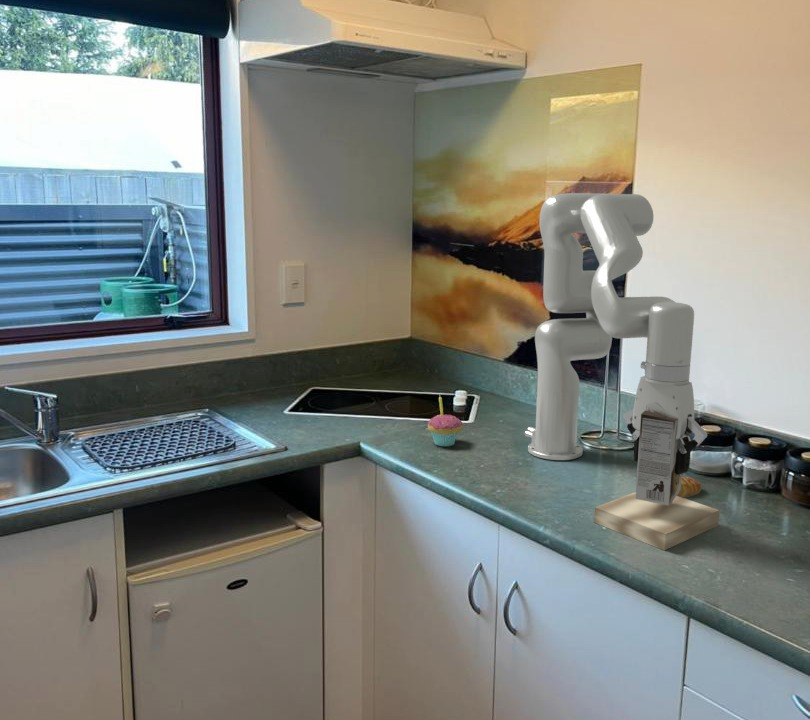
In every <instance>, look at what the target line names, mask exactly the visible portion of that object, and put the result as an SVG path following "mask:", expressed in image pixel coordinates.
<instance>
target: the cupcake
mask: <svg viewBox="0 0 810 720" xmlns="http://www.w3.org/2000/svg"><path fill="white" fill-rule="evenodd" d="M438 395H439V397H438V403H439V411H440V414H437V415H434V416H433V417H431V418H430V419H429V420H428V421H427V430H428V431H429V432H430V434H431V436H432V439H433V442H434V444H435V445H436V446H439V447H451V446H454V445H455V442H456V439H457V436H458V434H459V433H460V432H461V431H463V429H464V423H463V421H462V420H460V419H459V417H456V416H455V415H452V414H444V406H443V398H442V397H441V394H440V393H439V394H438Z"/></svg>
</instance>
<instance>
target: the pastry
mask: <svg viewBox="0 0 810 720" xmlns="http://www.w3.org/2000/svg"><path fill="white" fill-rule="evenodd" d="M701 491H702V486H701V483H700V482H699V481H697V480H696V479H695V478H693V477H687V476H685V475H682V479H681V490H680V491H679V493H678V494H677V496H679V497H682V498H685V499H686V498H688V497H692V496H696V495H698V494H699V493H701Z"/></svg>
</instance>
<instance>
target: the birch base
mask: <svg viewBox="0 0 810 720" xmlns="http://www.w3.org/2000/svg"><path fill="white" fill-rule="evenodd" d="M635 496H636V491H635V492H631V493H630V494H626V495H623V496H621V497H618V498H616V499H613V500H610V501H607V502H605V503H602V504H599V505H597V506H594V516H593V523H594V522H595V524H597V525H600V526H602V527H604V528H608V529H610V530H613V532H617V533H620V534H622V535H624V536H627V537H630V538H632V539H635V540H637V541H640V542H642V543H645V544H647V545H651V546H653V547H655V548H657V549H659V550H662V551H666V550H669V549H670V548H673V547H675V546H677V545H679V544H682V543H683V542H686V541H688V540H690V539H692V538H695V537H696V536H699V535H701V534H703V533H705V532H707V531H709V530H711V529H714V528H716V527H718V526H719V520H720V511H721V510H720V509H718V508H714V507H711V506H709V505H704V504H702V503H699V502H696V501H693V500H690V499H687V498H686V497H685V498H683V497H679V496H676V497H675V499H674V500H673V501H672V503H671V504H670V505H663V504H658V503H653V502H648V501H643V500H638V499H636V498H635Z"/></svg>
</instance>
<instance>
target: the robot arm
mask: <svg viewBox="0 0 810 720" xmlns="http://www.w3.org/2000/svg"><path fill="white" fill-rule="evenodd" d="M653 224H654V211H653V208H652V205H651V203H650V202H649V200H648V199H647V198H646V197H645V196H643V195H641V194H636V193H635V194H634V193H633V194H631V193H630V194H629V193H627V194H626V193H595V192H593V193H590V192H589V193H588V192H587V193H586V192H571V193H570V192H568V193H559V194H558V193H557V194H554V195H551V196H550V197H548V198H547V199H545V201H543V203H542V206H541V209H540V212H539V230H540V235H541V240H542V244H543V251H544V258H543V283H542V285H543V286H542V287H543V288H542V289H543V290H542V291H543V292H542V293H543V304H544V306H545V309H546V310H548V311H549V312H551V313H554V314H576V313H577V314H579V313H582V314H583V313H585V315H586V317H585V318H584V317H581V318H574V317H573V318H557V319H556V318H554V319H548V320H546V321H543V322H542V323H541V324H539V325H538V326H537V328H536V330H535V334H534V343H535V351H536V362H537V383H536V384H537V385H536V386H537V390H536V391H537V393H536V408H535V409H536V412H535V413H536V414H535V427H534V426H529V427H528V428H527V430H525V432H524V436H525V437H526V438H531V442H530V443H529V444H528V446H527V451H528V452H529V454H531V455H532V456H535V457H537V458H540V459H545V460H551V461H571V460H575V459H577V458H580V457H581V456H583V447H582V446H581V445H579V444H577V435H578V422H579V421H578V420H579V419H578V418H579V417H578V416H579V403H580V402H579V400H580V378H579V375H578V372H577V371H576V370H575V369H574V367H573V366H572V363H571V362H572V361H579V360H580V361H582V360H596V359H601V358H602V359H603V358H604V357H605V356H607V355H608V354H609V352H610V350H611V348H612V341H613V338H614V339H634V338H635V339H638V338H645V339H646V338H647V340H646V353H645V354H646V355H645V361H641V363H640V368H641V369H642V370H644V375H643V376H640V379H639V381H638V382H639V383H638V385H637V389H636V393H635V397H634V403H633V408H632V409H630V410H628V411H626V412H624V413H622V414H623V415H622V419H623V420H624V422H625V425H627V426H626V428H627V430H628V432H629V433H630V434H631V439H632V441H634V442H633V461H634V462H636V463H638V453H639V438H640V424H641V414H642V413H643V412H644V411H650V412H653V413H658V414H662V415H665V416H667V417H671V418H675V419H677V429H676V440H678V441H677V447H678V449H679V452H678V453H676V464H675V474H678V475H680V474H684V473H687V472H688V470H689V469H690V463H691V453H692V451H695V449H696V448H698V447H699V446H701V444H702V442H703V441H705V439H706V438H707V437H708V432H707V431H705V430H704V428H703V427H702V426H701V425H700V424H699V423H698V422H697V421H696V420H695V398H694V396H695V395H694V389H693V387H694V386H693V382H692V381H691V382H690V372H691V362H692V361H691V358H692V348H693V335H694V322H695V310H694V308H693V307H692V306H691V305H690V304H687V303H683V302H675V301H674V300H673V299H672V298H669V297H666V296H626V297H625V296H623V297H619V295H618V294H617V291H616V289H615V286H614V284H613V280H615V279H617V278H620V277H621V276H623V275H625V274H627V273H628V272H630V271H631V270H633V269H635V268H636V267H637V265H638V264H640V263H641V260H642V258H643V256H644V252H643V251H644V249H643V247H642V245H641V243H640V241H639V239H638V237H640V236H644V235H645V234H647V233H648V232H649V231H650V230H651V229H652V227H653ZM575 234H586V236H587V238H588V241H589V242H590V244H591V247H592V250H593V252H594V255H595V257H596V259H597V261H598V263H599V264H598V267H597V268H596V270H584V268H583V263H584V260H583V259H584V251H583V248H582V247H583V246H582V245H581V243H580V242H579V240H578V239H577V237H576V236H575ZM693 434H694V437H693V438H692V439H691V437H690V436H691V435H693Z"/></svg>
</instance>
